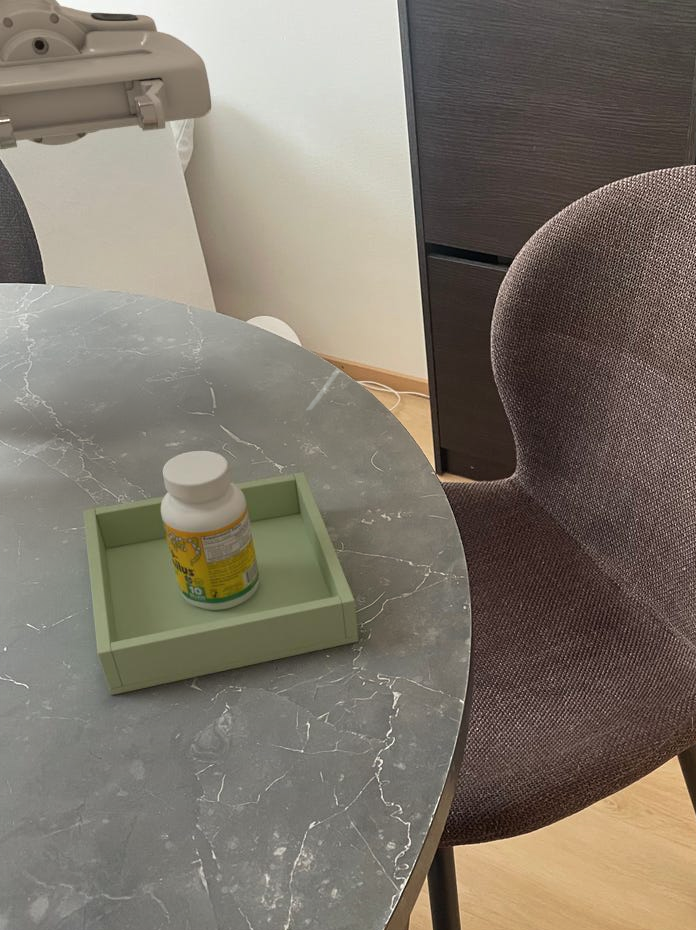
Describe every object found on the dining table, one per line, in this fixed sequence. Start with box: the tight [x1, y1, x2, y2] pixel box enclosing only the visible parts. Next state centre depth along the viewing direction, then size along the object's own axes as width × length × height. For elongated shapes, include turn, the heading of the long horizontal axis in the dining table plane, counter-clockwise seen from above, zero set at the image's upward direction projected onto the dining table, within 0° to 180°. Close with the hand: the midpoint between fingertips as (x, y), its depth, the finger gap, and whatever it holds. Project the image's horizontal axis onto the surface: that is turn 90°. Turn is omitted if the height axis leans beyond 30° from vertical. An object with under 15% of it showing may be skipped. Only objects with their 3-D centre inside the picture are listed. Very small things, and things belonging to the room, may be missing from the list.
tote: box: [82, 471, 359, 696], centre depth 70 cm, size 16×16×4 cm
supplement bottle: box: [161, 450, 259, 610], centre depth 68 cm, size 5×5×10 cm
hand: (79, 126), depth 67 cm, fingers open, 8 cm apart
